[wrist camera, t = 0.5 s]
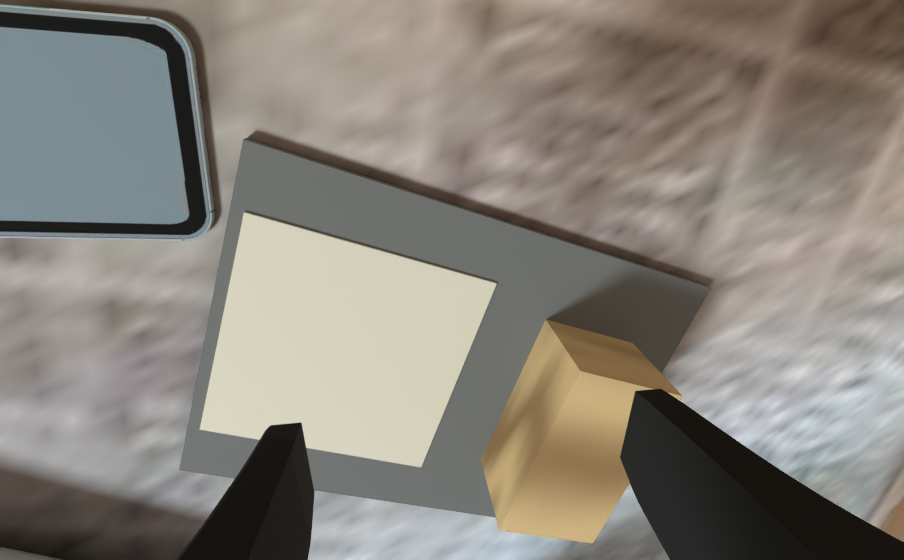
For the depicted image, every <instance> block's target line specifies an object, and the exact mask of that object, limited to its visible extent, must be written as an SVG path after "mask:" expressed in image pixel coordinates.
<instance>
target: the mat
mask: <svg viewBox="0 0 904 560" xmlns="http://www.w3.org/2000/svg"><path fill="white" fill-rule="evenodd" d="M710 289H711V288H710V287H708V286H707V285H705V284H702V283H699V282H695V281H692V280H689V279H686V278H683V277H680V276H677V275H674V274H670V273H667V272H664V271H661V270H658V269H655V268H652V267H649V266H645V265H642V264H639V263H636V262H633V261H630V260H627V259H623V258H620V257H617V256H614V255H611V254H608V253H605V252H602V251H598V250H595V249H592V248H589V247H586V246H583V245H580V244H577V243H573V242H570V241H567V240H564V239H561V238H558V237H555V236H551V235H548V234H545V233H542V232H539V231H536V230H533V229H530V228H526V227H523V226H520V225H517V224H514V223H511V222H508V221H505V220H501V219H498V218H495V217H492V216H489V215H486V214H483V213H479V212H476V211H473V210H470V209H467V208H464V207H461V206H458V205H454V204H451V203H448V202H445V201H442V200H439V199H436V198H433V197H429V196H426V195H423V194H420V193H417V192H414V191H411V190H407V189H404V188H401V187H398V186H395V185H392V184H389V183H386V182H382V181H379V180H376V179H373V178H370V177H367V176H364V175H361V174H357V173H354V172H351V171H348V170H345V169H342V168H339V167H335V166H332V165H329V164H326V163H323V162H320V161H317V160H314V159H310V158H307V157H304V156H301V155H298V154H295V153H292V152H289V151H285V150H282V149H279V148H276V147H273V146H270V145H267V144H263V143H260V142H257V141H254V140H251V139H248V138H245V139H243V144H242V149H241V154H240V160H239V165H238V170H237V175H236V180H235V185H234V191H233V196H232V201H231V206H230V211H229V216H228V222H227V227H226V232H225V237H224V242H223V247H222V253H221V258H220V263H219V268H218V273H217V278H216V284H215V289H214V294H213V299H212V304H211V309H210V314H209V320H208V325H207V330H206V335H205V340H204V345H203V351H202V356H201V361H200V366H199V371H198V376H197V382H196V387H195V392H194V397H193V402H192V407H191V413H190V418H189V423H188V428H187V433H186V438H185V444H184V449H183V454H182V459H181V464H180V469H179V470H183V471H189V472H196V473H203V474H209V475H216V476H223V477H230V478H236V476H237V475H238V473H239V472H240V470H241V469H242V467H243V466H244V464H245V463H246V461H247V460H248V458H249V456H250V455H251V453H252V452H253V450H254V448H255V447H256V445H257V443H258V442H259V440H260V439H261V437H262V435H263V434H264V432H265V430H266V429H267V428H268V427H269V426H270V425H279V424H290V423H300V422H301V423H302V428H303V434H304V439H305V445H306V450H307V455H308V461H309V466H310V471H311V477H312V482H313V487H314V490H316V491H323V492H330V493H336V494H343V495H350V496H357V497H363V498H370V499H377V500H383V501H390V502H397V503H403V504H410V505H417V506H423V507H430V508H437V509H443V510H450V511H457V512H463V513H470V514H477V515H484V516H490V517H495V513H494V509H493V505H492V501H491V497H490V493H489V489H488V486H487V482H486V478H485V474H484V470H483V466H482V462H481V458H482V456H483V454H484V451H485V449H486V447H487V445H488V443H489V441H490V439H491V436H492V434H493V432H494V430H495V428H496V426H497V423H498V421H499V419H500V417H501V415H502V413H503V410H504V408H505V406H506V404H507V402H508V400H509V397H510V395H511V393H512V391H513V389H514V387H515V384H516V382H517V380H518V378H519V376H520V374H521V371H522V369H523V367H524V365H525V363H526V361H527V359H528V356H529V354H530V352H531V350H532V348H533V346H534V343H535V341H536V339H537V337H538V335H539V333H540V330H541V328H542V326H543V324H544V322H545V320H550V321H553V322H557V323H561V324H564V325H568V326H572V327H576V328H579V329H583V330H587V331H590V332H594V333H598V334H602V335H605V336H609V337H613V338H616V339H620V340H624V341H628V342H631V343H633V344H634V345H635V346H636V347H637V348H638V349H639V350H640V351H641V352H642V353H643V355H644V356H645V357H646V358H647V359H648V360H649V361H650V362H651V363H652V364H653V365H654V366H655V367H656V368H657V369H658V370H659V372H660V373H662V372H663V370H664V368H665V366H666V365H667V363H668V361H669V360H670V358H671V356H672V354H673V353H674V351H675V349H676V347H677V346H678V344H679V342H680V341H681V339H682V337H683V335H684V334H685V332H686V330H687V328H688V327H689V325H690V323H691V322H692V320H693V318H694V316H695V315H696V313H697V311H698V309H699V308H700V306H701V304H702V303H703V301H704V299H705V297H706V296H707V294H708V292H709V291H710Z"/></svg>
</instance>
